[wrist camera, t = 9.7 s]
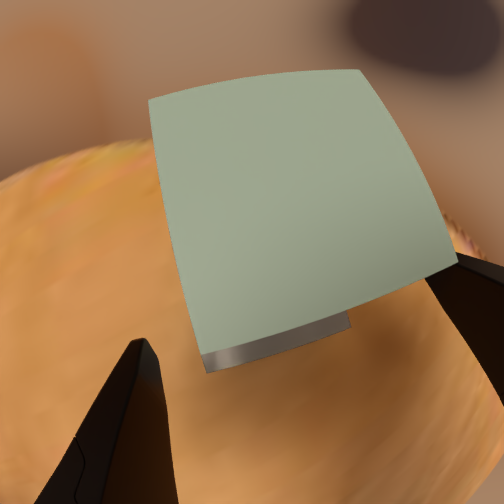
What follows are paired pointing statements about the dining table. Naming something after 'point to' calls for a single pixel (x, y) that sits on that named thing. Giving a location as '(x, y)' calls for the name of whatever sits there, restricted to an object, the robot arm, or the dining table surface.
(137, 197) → the dining table surface
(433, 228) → the sage green block
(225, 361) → the slate plinth
